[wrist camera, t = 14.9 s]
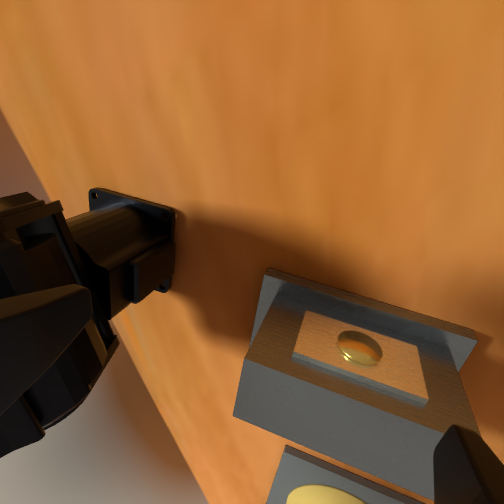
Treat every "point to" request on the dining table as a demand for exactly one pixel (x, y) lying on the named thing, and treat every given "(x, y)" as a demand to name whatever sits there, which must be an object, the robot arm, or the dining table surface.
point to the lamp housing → (354, 378)
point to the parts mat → (325, 484)
